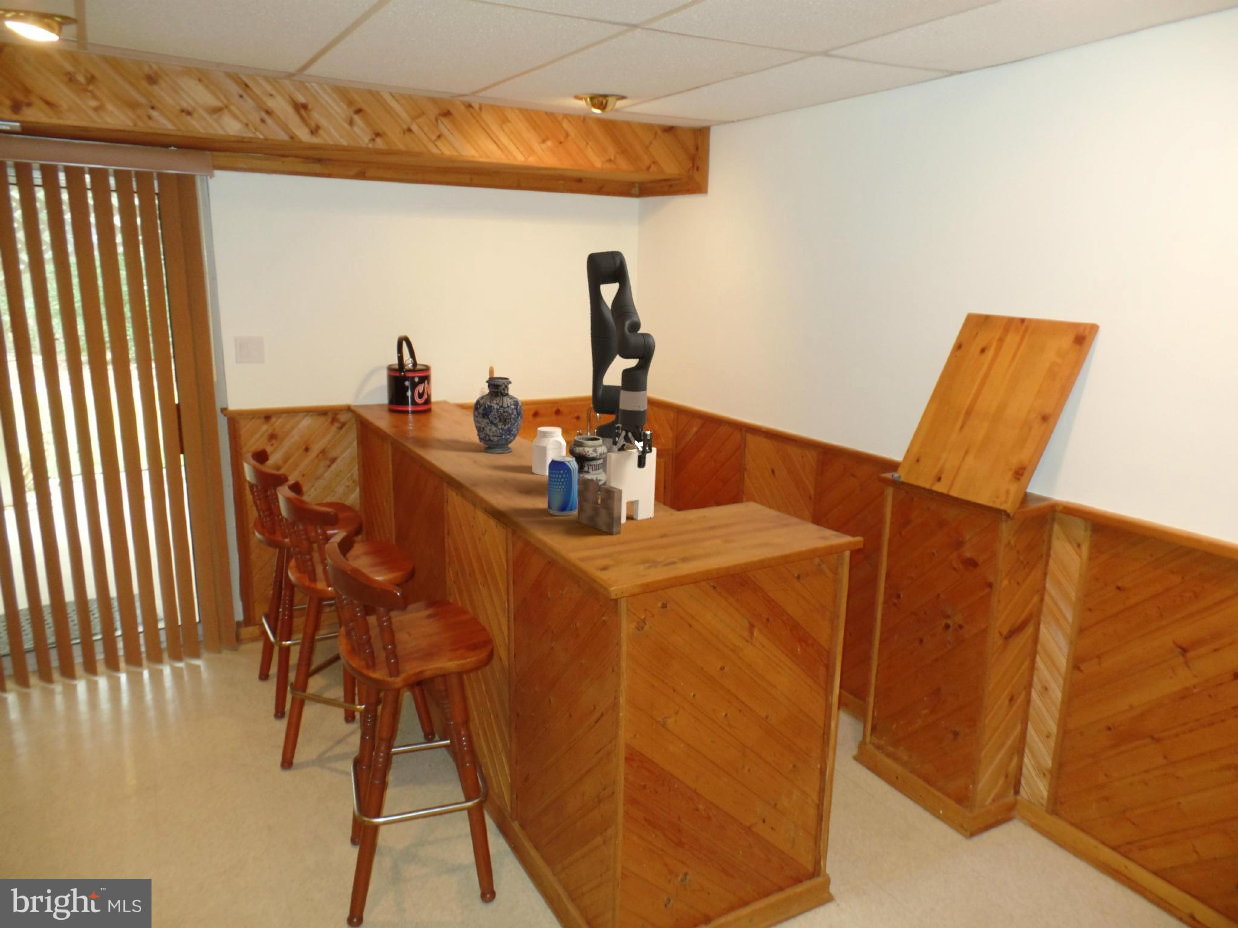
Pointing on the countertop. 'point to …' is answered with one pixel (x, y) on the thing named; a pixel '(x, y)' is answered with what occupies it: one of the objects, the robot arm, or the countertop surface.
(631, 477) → the cream plate
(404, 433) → the countertop surface
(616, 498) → the walnut notched block
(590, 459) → the apothecary jar
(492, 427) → the decorative vase
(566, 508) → the beer can
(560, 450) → the jar
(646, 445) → the robot arm
